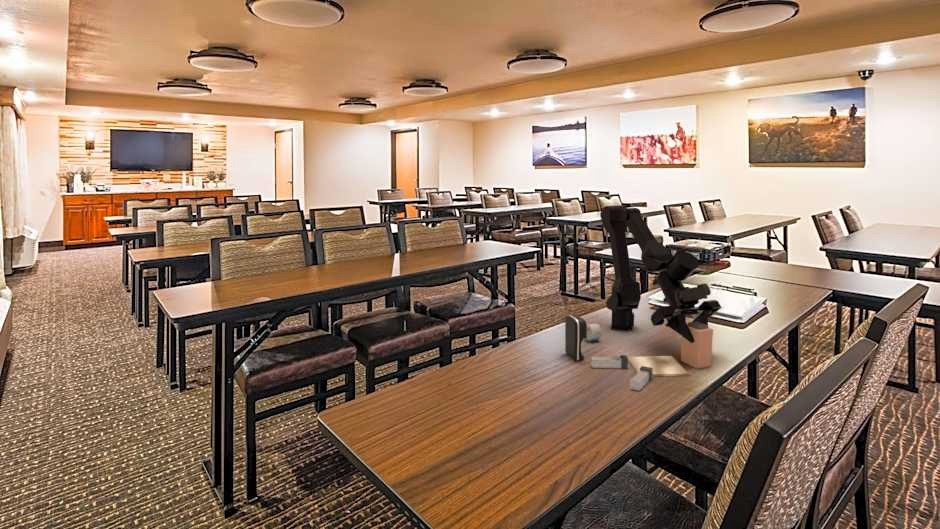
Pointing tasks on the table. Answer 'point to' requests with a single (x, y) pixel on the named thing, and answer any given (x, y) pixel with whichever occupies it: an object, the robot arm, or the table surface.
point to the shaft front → (641, 378)
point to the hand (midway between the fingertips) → (700, 341)
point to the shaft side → (610, 362)
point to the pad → (658, 365)
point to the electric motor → (593, 332)
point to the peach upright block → (698, 346)
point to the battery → (574, 336)
